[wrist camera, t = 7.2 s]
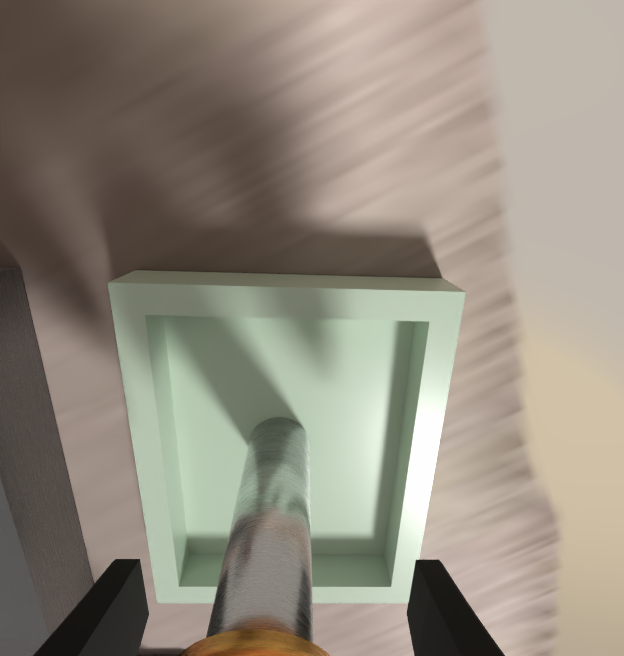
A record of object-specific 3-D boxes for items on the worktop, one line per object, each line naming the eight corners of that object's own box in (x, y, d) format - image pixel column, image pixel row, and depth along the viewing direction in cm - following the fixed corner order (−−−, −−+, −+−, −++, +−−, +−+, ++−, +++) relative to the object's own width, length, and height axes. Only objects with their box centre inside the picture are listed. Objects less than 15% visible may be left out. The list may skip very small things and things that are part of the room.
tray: (400, 560, 18) (411, 603, 16) (172, 560, 18) (157, 603, 16) (443, 278, 13) (465, 292, 12) (135, 270, 13) (107, 282, 11)
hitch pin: (322, 478, 16) (343, 792, 7) (237, 478, 16) (162, 795, 7) (325, 404, 15) (352, 680, 6) (232, 403, 14) (137, 683, 6)
